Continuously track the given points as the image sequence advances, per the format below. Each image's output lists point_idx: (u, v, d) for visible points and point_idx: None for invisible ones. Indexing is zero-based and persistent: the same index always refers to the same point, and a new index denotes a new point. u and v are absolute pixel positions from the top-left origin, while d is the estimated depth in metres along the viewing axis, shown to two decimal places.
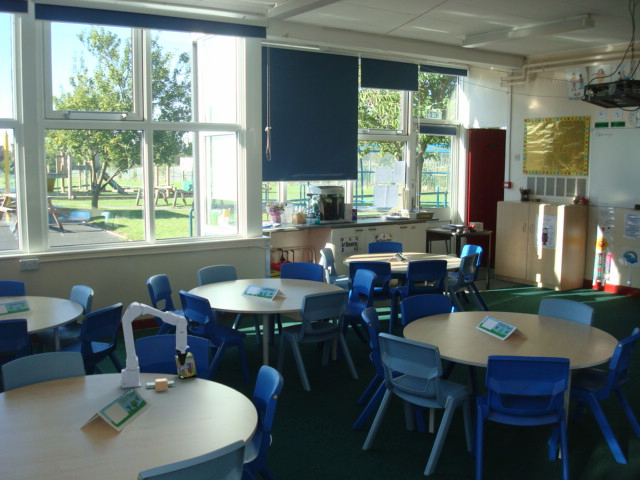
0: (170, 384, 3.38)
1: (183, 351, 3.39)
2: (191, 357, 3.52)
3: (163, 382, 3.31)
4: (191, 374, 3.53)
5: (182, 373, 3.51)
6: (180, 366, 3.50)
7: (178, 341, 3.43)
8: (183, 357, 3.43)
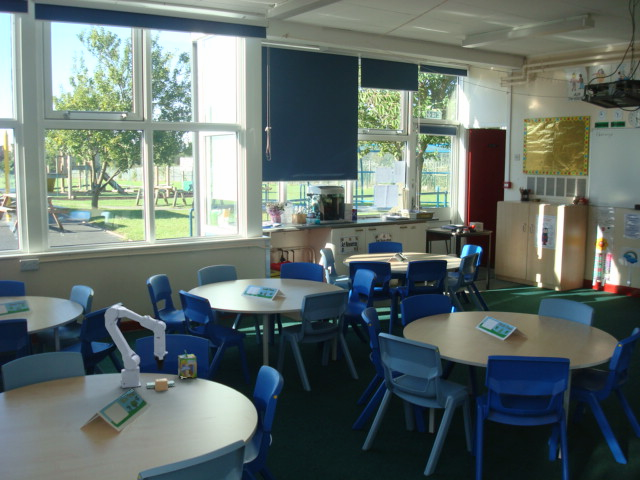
0: (170, 384, 3.38)
1: (161, 357, 3.32)
2: (194, 359, 3.53)
3: (163, 382, 3.31)
4: (191, 376, 3.53)
5: (183, 373, 3.51)
6: (182, 366, 3.51)
7: (156, 347, 3.35)
8: (161, 362, 3.38)
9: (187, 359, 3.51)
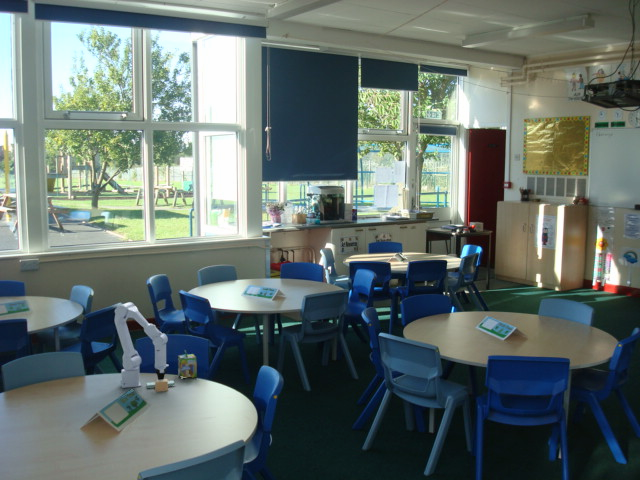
0: (170, 384, 3.38)
1: (162, 370, 3.28)
2: (194, 359, 3.53)
3: (163, 383, 3.30)
4: (191, 376, 3.53)
5: (183, 373, 3.51)
6: (182, 366, 3.51)
7: (157, 360, 3.32)
8: (162, 375, 3.35)
9: (187, 359, 3.51)
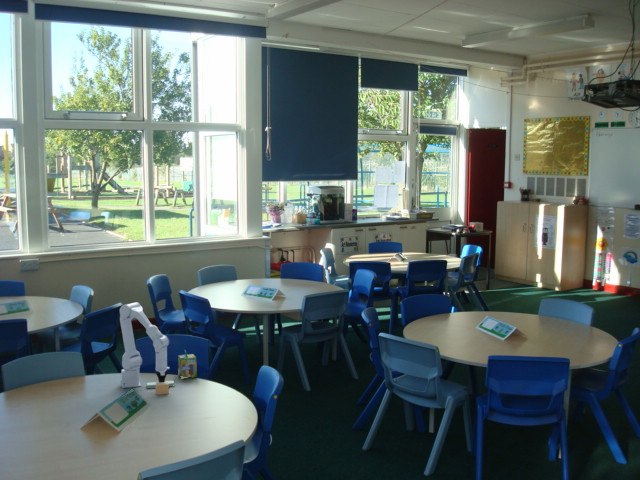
0: (170, 384, 3.38)
1: (163, 373, 3.24)
2: (194, 359, 3.53)
3: (164, 385, 3.25)
4: (191, 376, 3.53)
5: (183, 373, 3.51)
6: (182, 366, 3.51)
7: (158, 362, 3.27)
8: (162, 377, 3.30)
9: (187, 359, 3.51)
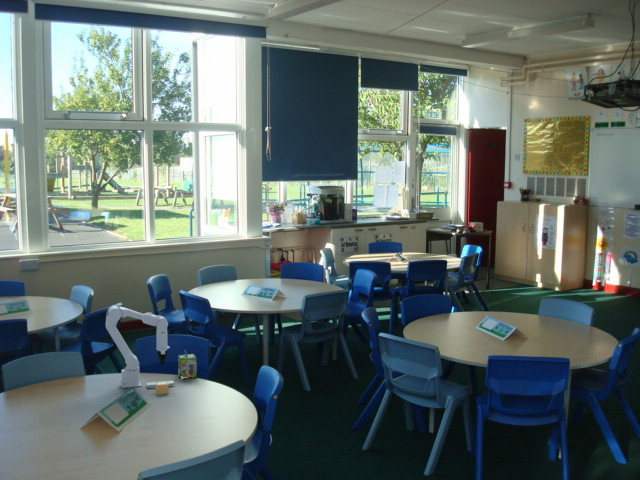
0: (170, 384, 3.38)
1: (163, 352, 3.37)
2: (194, 359, 3.53)
3: (164, 385, 3.25)
4: (191, 376, 3.53)
5: (183, 373, 3.51)
6: (182, 366, 3.51)
7: (158, 342, 3.41)
8: (163, 356, 3.44)
9: (187, 359, 3.51)
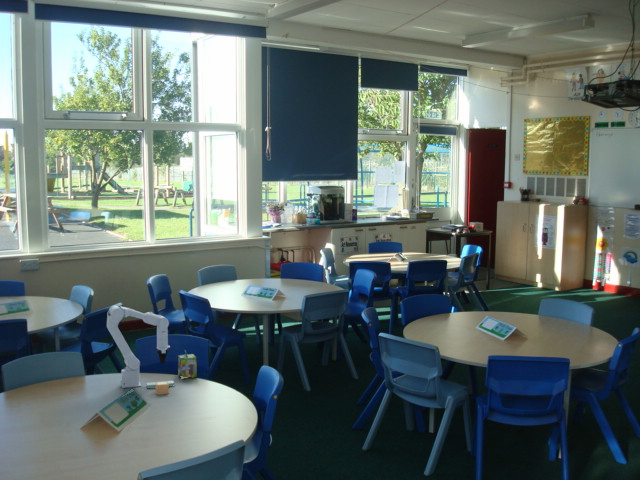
0: (170, 384, 3.38)
1: (163, 351, 3.39)
2: (194, 359, 3.53)
3: (164, 385, 3.25)
4: (191, 376, 3.53)
5: (183, 373, 3.51)
6: (182, 366, 3.51)
7: (159, 341, 3.43)
8: (163, 355, 3.46)
9: (187, 359, 3.51)
